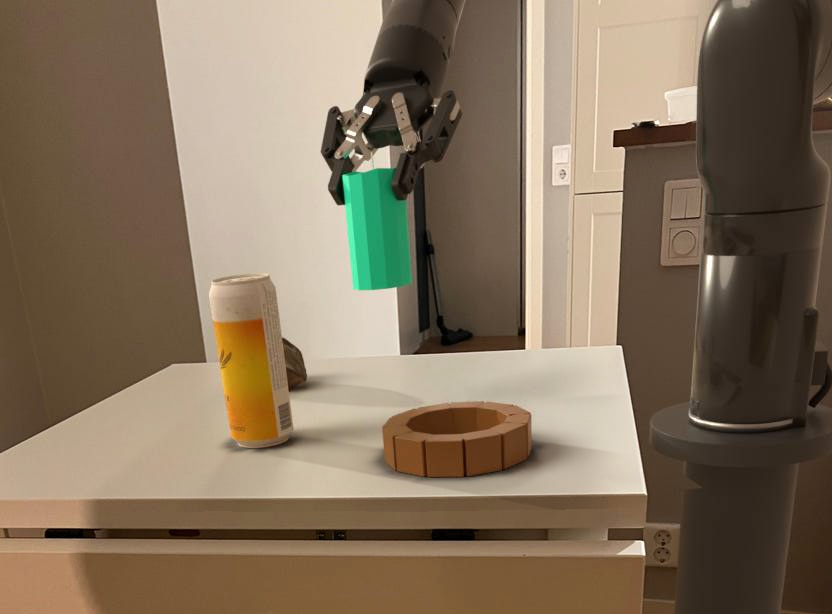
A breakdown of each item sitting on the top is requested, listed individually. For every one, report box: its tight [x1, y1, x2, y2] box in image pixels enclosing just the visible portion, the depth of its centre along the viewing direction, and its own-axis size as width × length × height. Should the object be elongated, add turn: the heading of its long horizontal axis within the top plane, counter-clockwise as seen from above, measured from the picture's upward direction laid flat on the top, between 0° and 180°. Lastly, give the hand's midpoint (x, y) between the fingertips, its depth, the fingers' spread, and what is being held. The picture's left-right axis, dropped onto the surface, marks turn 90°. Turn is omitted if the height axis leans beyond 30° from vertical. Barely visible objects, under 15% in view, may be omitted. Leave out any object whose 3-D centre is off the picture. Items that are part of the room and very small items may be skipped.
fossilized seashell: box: [282, 336, 308, 389], centre depth 113 cm, size 8×7×10 cm
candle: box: [342, 152, 413, 291], centre depth 93 cm, size 6×6×12 cm
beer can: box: [208, 272, 294, 449], centre depth 89 cm, size 6×6×15 cm
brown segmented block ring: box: [381, 400, 533, 478], centre depth 82 cm, size 12×12×3 cm
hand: (367, 196), depth 91 cm, fingers closed on candle, 6 cm apart
